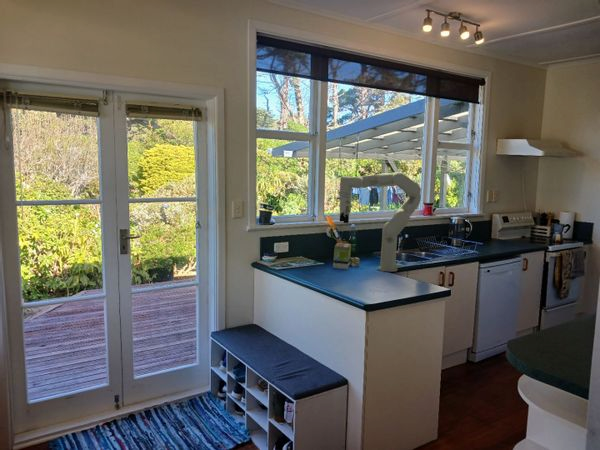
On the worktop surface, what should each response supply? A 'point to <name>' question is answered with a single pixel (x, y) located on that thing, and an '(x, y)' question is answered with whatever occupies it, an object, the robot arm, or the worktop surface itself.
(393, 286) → the worktop surface
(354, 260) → the birch block
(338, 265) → the tea box
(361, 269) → the worktop surface
